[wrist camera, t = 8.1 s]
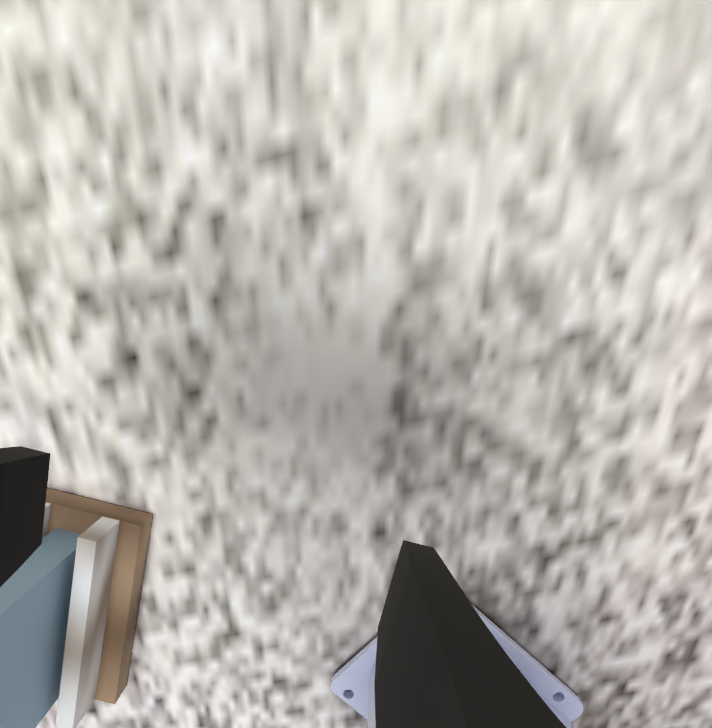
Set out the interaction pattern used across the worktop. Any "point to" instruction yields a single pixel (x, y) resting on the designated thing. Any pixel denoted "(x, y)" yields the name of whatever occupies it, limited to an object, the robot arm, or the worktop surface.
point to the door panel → (35, 630)
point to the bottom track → (98, 598)
